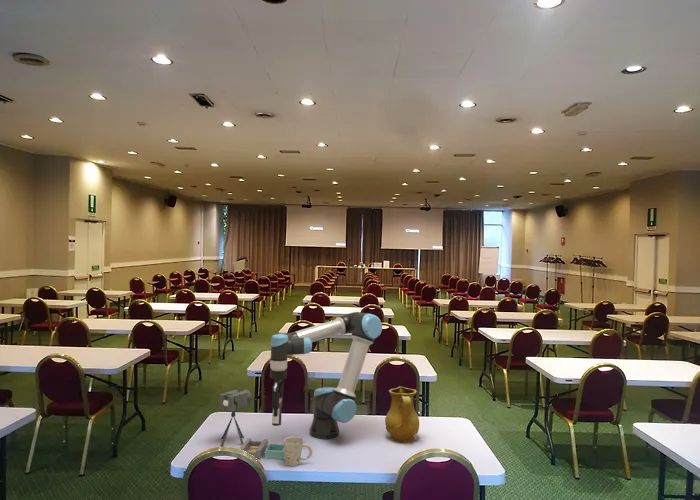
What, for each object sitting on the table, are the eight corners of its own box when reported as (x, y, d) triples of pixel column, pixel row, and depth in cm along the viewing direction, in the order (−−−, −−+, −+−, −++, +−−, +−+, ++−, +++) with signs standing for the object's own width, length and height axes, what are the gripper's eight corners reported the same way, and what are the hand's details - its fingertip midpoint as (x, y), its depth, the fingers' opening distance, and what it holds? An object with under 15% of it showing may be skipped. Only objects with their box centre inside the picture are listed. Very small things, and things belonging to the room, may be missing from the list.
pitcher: (424, 434, 247) (422, 386, 247) (413, 449, 230) (411, 396, 230) (392, 430, 255) (391, 383, 255) (379, 443, 238) (378, 393, 238)
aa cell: (282, 423, 219) (282, 395, 220) (280, 426, 215) (281, 397, 216) (273, 422, 220) (274, 394, 220) (271, 425, 216) (272, 397, 216)
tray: (287, 452, 221) (287, 444, 221) (283, 459, 213) (283, 451, 213) (269, 451, 222) (269, 443, 222) (264, 458, 213) (265, 450, 214)
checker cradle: (267, 447, 227) (268, 439, 227) (260, 459, 213) (260, 450, 213) (246, 446, 227) (247, 438, 228) (237, 458, 213) (238, 449, 214)
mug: (283, 459, 213) (284, 436, 213) (312, 459, 214) (312, 436, 214) (282, 467, 205) (283, 443, 205) (312, 467, 206) (312, 443, 206)
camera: (233, 450, 222) (234, 395, 223) (209, 443, 230) (211, 390, 231) (256, 440, 236) (258, 388, 236) (233, 433, 244) (235, 383, 244)
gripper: (274, 365, 227) (273, 415, 226) (265, 373, 210) (264, 427, 209) (290, 365, 227) (288, 416, 226) (282, 373, 210) (281, 428, 209)
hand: (276, 421), depth 218 cm, fingers closed on aa cell, 4 cm apart
